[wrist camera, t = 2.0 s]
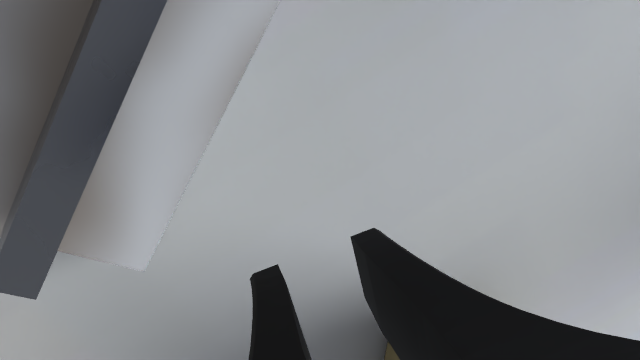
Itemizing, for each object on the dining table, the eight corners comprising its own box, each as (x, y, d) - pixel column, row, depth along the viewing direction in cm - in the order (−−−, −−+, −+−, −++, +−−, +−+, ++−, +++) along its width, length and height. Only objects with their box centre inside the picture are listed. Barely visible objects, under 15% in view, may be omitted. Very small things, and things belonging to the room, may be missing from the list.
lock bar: (154, -291, 12) (168, -338, 9) (280, -199, 14) (326, -214, 11) (-35, 216, 16) (-67, 296, 13) (80, 244, 18) (73, 322, 15)
